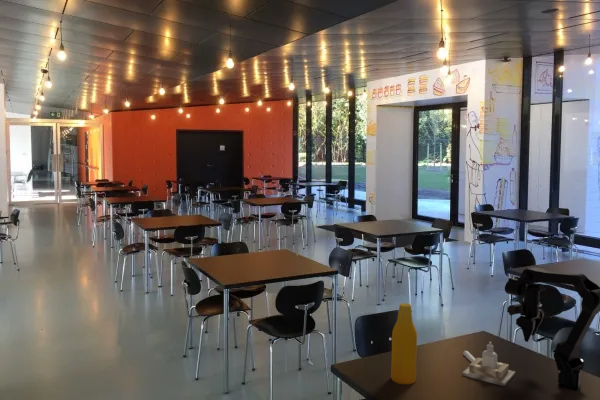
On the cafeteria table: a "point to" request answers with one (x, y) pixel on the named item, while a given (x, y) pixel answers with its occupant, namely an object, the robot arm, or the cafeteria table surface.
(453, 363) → the cafeteria table surface
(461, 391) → the cafeteria table surface
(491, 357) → the eye dropper bottle
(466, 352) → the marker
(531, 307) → the robot arm
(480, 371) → the collar block
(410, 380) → the beer bottle
